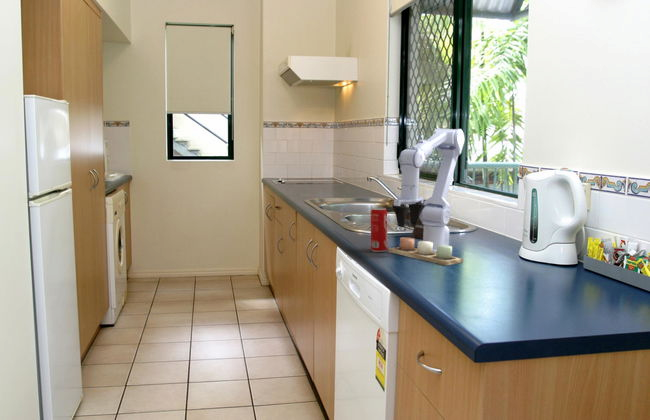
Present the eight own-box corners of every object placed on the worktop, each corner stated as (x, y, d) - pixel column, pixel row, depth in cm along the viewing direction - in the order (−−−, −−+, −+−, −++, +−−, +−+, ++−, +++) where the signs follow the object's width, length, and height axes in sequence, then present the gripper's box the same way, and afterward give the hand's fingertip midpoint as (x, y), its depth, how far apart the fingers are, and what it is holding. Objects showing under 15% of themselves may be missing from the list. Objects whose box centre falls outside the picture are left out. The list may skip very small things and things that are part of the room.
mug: (436, 235, 254) (438, 199, 252) (445, 240, 242) (448, 202, 240) (399, 234, 252) (401, 198, 250) (407, 239, 240) (409, 201, 238)
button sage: (442, 254, 205) (443, 244, 204) (454, 257, 201) (455, 246, 201) (432, 256, 202) (433, 245, 201) (445, 259, 198) (445, 248, 197)
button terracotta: (406, 246, 217) (406, 236, 216) (417, 249, 213) (417, 239, 213) (396, 248, 213) (397, 238, 213) (407, 250, 210) (408, 240, 209)
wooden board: (405, 249, 220) (405, 246, 220) (463, 262, 201) (463, 258, 201) (388, 251, 214) (388, 248, 214) (446, 265, 195) (446, 261, 195)
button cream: (423, 250, 211) (424, 240, 210) (435, 253, 207) (436, 242, 207) (414, 252, 207) (414, 241, 207) (425, 254, 204) (426, 244, 203)
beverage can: (386, 253, 211) (388, 210, 209) (367, 251, 212) (369, 208, 211) (388, 250, 217) (390, 208, 215) (369, 248, 218) (372, 206, 216)
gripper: (412, 183, 213) (409, 222, 215) (387, 185, 203) (385, 226, 205) (429, 185, 209) (427, 224, 211) (404, 187, 198) (402, 229, 200)
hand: (407, 225), depth 207 cm, fingers open, 7 cm apart
